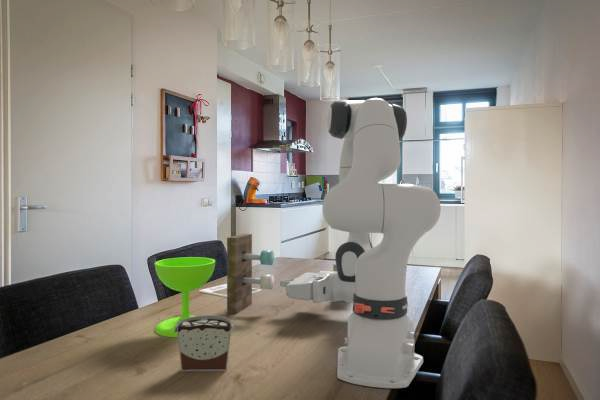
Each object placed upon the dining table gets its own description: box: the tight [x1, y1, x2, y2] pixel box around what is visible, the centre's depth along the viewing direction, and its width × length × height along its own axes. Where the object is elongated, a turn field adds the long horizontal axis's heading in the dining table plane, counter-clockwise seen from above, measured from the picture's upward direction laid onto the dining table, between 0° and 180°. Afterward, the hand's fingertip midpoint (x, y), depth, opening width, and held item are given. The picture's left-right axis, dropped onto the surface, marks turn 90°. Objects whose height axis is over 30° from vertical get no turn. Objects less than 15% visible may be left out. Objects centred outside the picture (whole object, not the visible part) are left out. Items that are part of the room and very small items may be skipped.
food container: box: [174, 314, 235, 372], centre depth 93 cm, size 12×6×10 cm, turn 92°
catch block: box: [226, 233, 253, 315], centre depth 138 cm, size 3×12×23 cm, turn 163°
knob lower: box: [242, 274, 275, 290], centre depth 137 cm, size 13×4×4 cm, turn 73°
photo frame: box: [198, 283, 263, 298], centre depth 161 cm, size 15×1×18 cm
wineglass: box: [154, 256, 216, 338], centre depth 119 cm, size 16×16×18 cm
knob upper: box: [242, 249, 275, 266], centre depth 136 cm, size 13×4×4 cm, turn 73°
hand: (281, 282), depth 134 cm, fingers closed
